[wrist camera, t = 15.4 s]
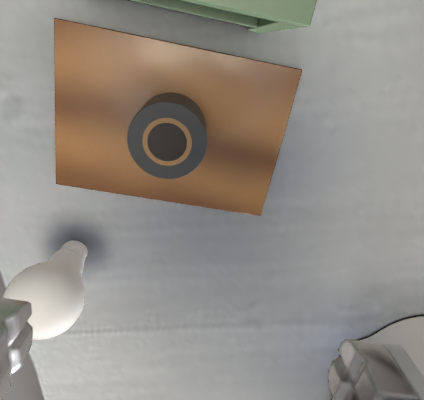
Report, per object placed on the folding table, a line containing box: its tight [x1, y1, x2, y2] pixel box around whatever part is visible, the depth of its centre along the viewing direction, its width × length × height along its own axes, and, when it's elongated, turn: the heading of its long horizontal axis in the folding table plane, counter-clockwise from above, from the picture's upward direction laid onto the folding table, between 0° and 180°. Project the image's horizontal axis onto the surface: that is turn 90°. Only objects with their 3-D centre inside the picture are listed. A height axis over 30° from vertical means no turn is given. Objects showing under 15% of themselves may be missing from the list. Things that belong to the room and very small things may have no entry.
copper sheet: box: [54, 18, 302, 216], centre depth 29 cm, size 14×20×1 cm
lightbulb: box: [4, 240, 87, 340], centre depth 30 cm, size 6×6×11 cm
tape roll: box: [127, 92, 207, 179], centre depth 27 cm, size 6×6×5 cm
